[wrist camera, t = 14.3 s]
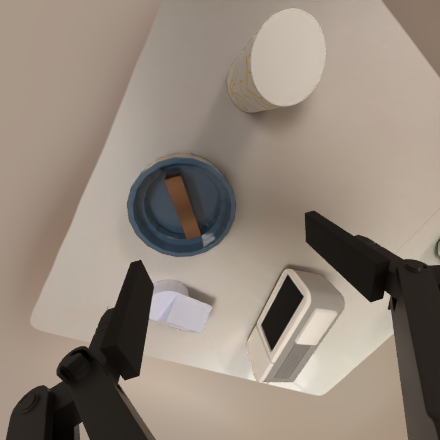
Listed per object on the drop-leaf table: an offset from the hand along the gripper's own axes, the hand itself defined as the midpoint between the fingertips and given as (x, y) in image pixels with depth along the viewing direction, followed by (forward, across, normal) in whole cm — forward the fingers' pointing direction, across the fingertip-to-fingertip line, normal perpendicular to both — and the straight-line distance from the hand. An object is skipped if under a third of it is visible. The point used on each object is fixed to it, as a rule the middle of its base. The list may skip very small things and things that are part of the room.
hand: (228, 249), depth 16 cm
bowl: (+23, -4, -3) cm, 24 cm away
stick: (+22, -4, -3) cm, 23 cm away
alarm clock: (+23, +10, -38) cm, 45 cm away
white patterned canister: (+23, +12, +12) cm, 29 cm away
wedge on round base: (+23, -13, -25) cm, 36 cm away
